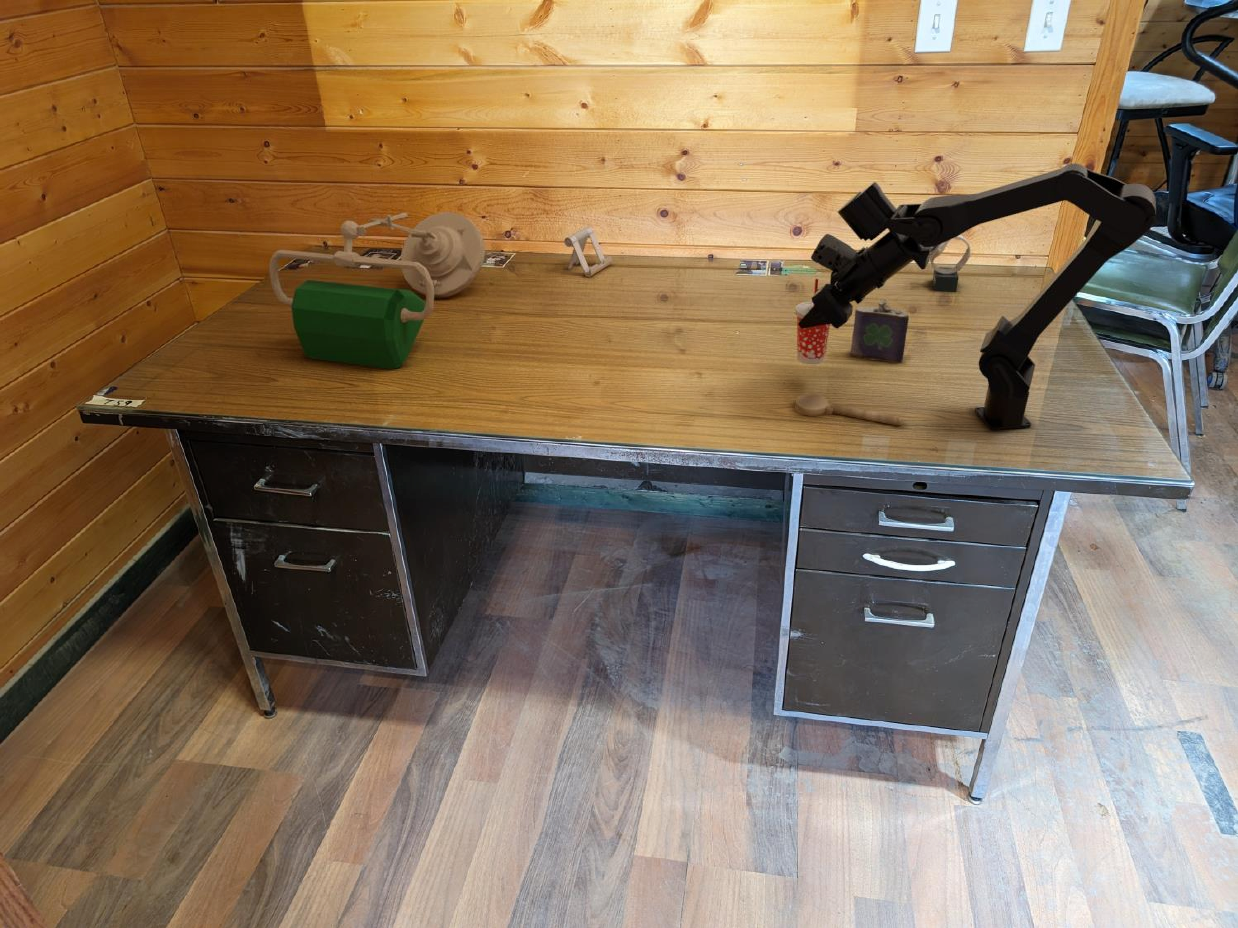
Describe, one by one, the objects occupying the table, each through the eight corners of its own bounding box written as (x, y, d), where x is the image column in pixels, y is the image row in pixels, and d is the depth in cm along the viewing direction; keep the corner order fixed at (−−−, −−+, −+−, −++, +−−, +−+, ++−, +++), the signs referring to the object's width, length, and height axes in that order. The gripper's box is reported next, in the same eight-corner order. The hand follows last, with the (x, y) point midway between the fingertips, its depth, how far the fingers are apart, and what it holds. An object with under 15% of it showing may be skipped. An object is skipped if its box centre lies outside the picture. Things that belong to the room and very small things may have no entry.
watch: (922, 280, 191) (930, 229, 185) (962, 282, 189) (971, 231, 183) (924, 290, 186) (932, 238, 180) (965, 292, 184) (974, 240, 178)
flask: (848, 356, 162) (855, 300, 156) (852, 349, 164) (859, 294, 158) (901, 364, 158) (910, 308, 153) (904, 357, 161) (912, 301, 155)
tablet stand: (591, 278, 199) (589, 241, 194) (562, 272, 202) (559, 236, 198) (612, 265, 205) (610, 229, 200) (583, 260, 209) (581, 224, 204)
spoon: (905, 418, 143) (906, 410, 142) (898, 433, 139) (899, 425, 138) (800, 398, 150) (801, 390, 149) (791, 412, 146) (791, 404, 145)
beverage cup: (816, 370, 147) (822, 289, 140) (785, 359, 151) (789, 280, 144) (836, 357, 151) (843, 277, 143) (805, 347, 155) (811, 269, 147)
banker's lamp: (349, 393, 198) (232, 332, 161) (393, 218, 204) (291, 123, 168) (491, 413, 188) (401, 354, 151) (533, 229, 194) (456, 130, 158)
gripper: (861, 204, 144) (791, 262, 154) (830, 241, 130) (754, 302, 140) (905, 257, 145) (832, 311, 155) (879, 299, 131) (801, 356, 141)
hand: (805, 318), depth 148 cm, fingers closed on beverage cup, 6 cm apart
